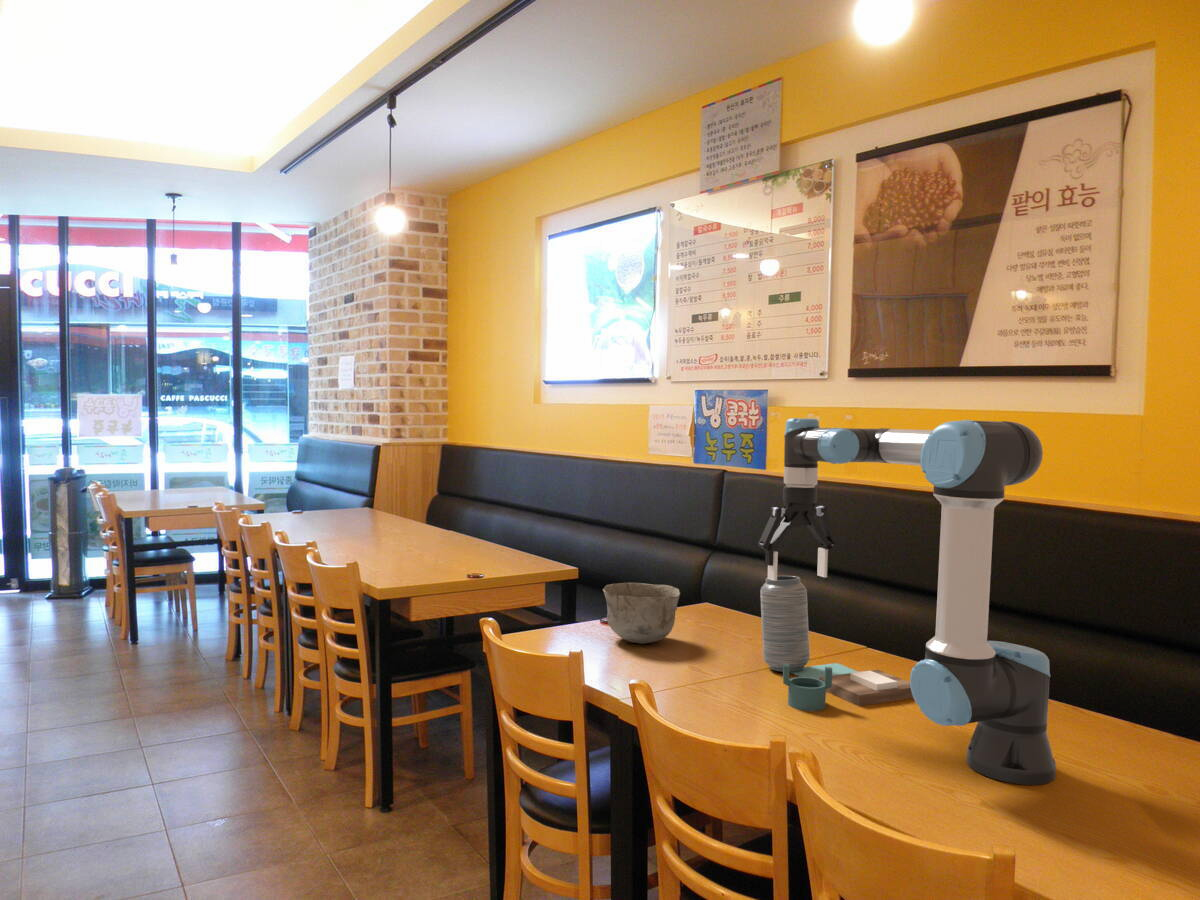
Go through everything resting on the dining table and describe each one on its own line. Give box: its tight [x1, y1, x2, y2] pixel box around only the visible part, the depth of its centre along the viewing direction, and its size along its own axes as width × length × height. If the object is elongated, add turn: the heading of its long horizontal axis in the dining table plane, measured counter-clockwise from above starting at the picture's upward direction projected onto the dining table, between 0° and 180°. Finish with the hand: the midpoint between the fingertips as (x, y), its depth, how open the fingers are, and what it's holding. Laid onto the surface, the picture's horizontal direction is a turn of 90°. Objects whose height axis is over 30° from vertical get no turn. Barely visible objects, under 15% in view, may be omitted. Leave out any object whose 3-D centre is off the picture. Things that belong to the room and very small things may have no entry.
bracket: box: [782, 664, 832, 712], centre depth 198 cm, size 9×9×9 cm
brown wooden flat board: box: [819, 669, 914, 707], centre depth 207 cm, size 14×18×2 cm
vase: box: [759, 575, 811, 673], centre depth 225 cm, size 12×12×23 cm
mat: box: [789, 662, 859, 679], centre depth 220 cm, size 14×16×1 cm
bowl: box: [602, 582, 681, 645], centre depth 249 cm, size 22×22×15 cm
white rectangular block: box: [850, 670, 897, 691], centre depth 206 cm, size 9×6×2 cm, turn 24°
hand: (797, 578), depth 202 cm, fingers open, 13 cm apart
